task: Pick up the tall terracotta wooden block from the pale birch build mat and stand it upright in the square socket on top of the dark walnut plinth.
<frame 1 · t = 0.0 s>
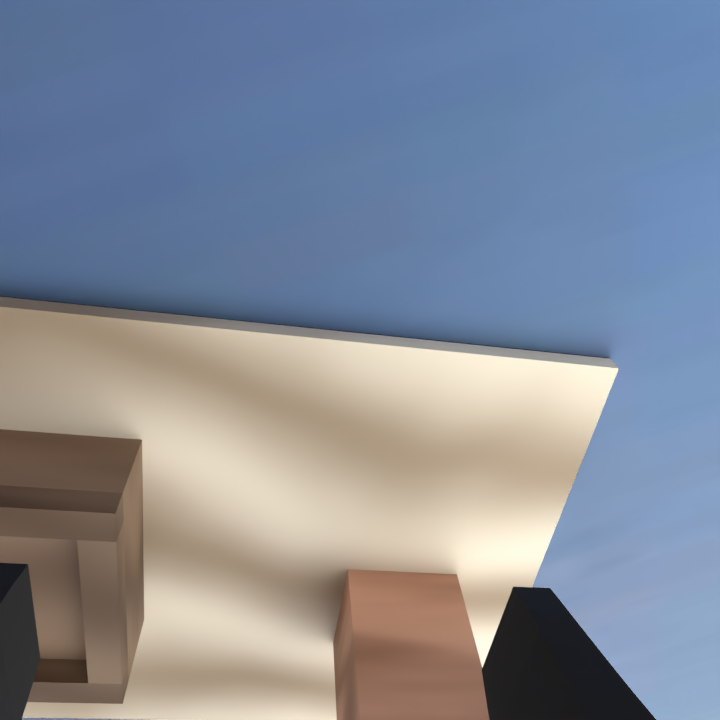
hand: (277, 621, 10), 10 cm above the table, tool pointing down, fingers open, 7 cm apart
block: (393, 609, 24), point 1 cm above the table, touching build mat
build mat: (191, 548, 22), on the table
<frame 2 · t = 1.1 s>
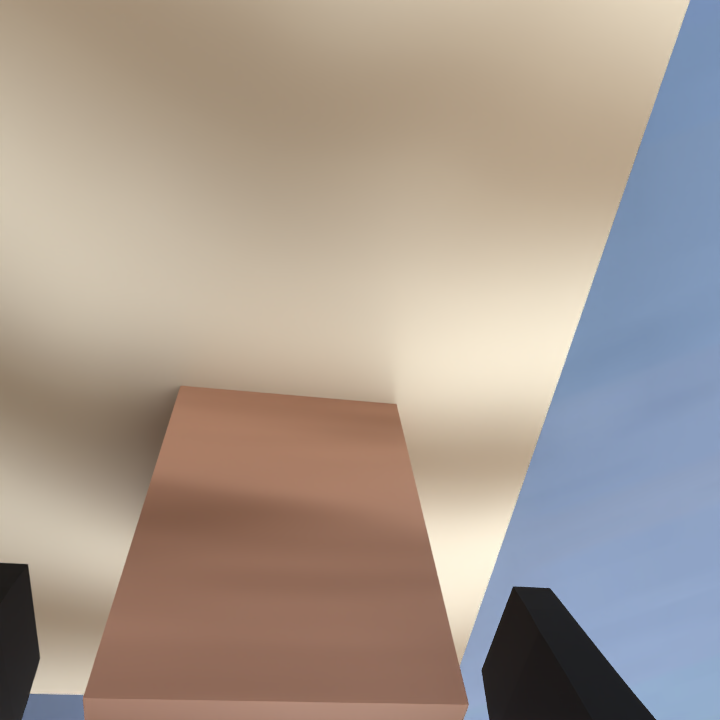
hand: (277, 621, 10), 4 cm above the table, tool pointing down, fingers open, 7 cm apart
block: (281, 479, 13), point 1 cm above the table, touching build mat
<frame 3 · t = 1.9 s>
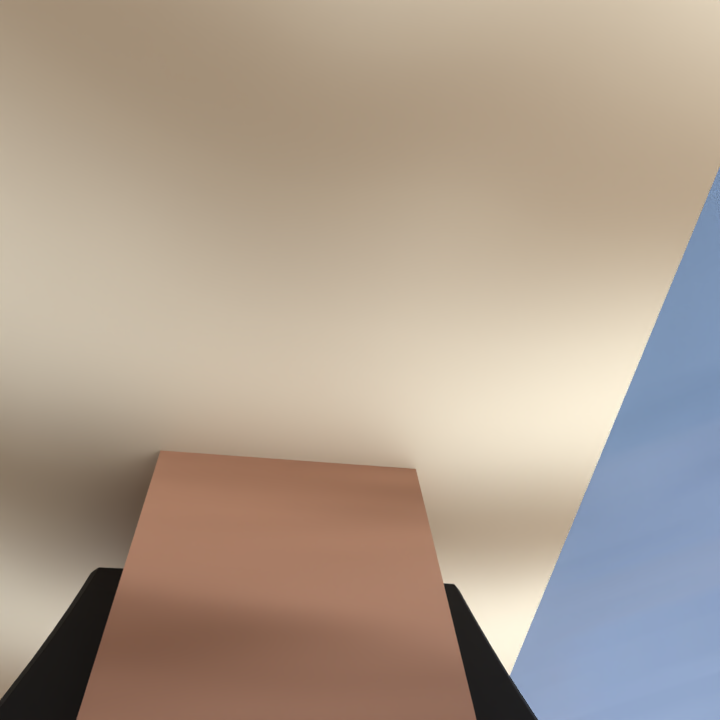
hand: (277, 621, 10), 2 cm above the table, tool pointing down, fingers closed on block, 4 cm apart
block: (279, 552, 11), point 1 cm above the table, touching build mat, gripper
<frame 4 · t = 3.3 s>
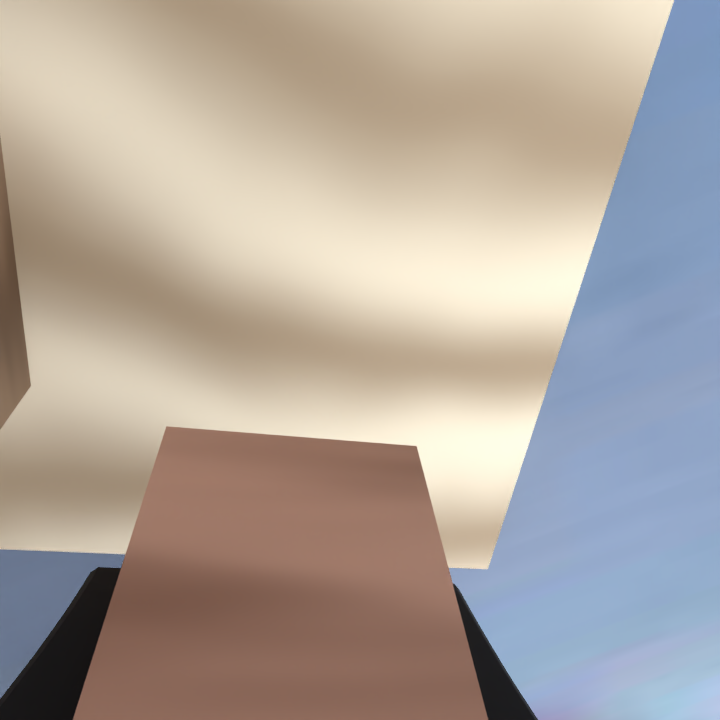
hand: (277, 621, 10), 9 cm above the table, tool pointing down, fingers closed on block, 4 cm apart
block: (282, 529, 11), point 7 cm above the table, touching gripper
build mat: (90, 277, 16), on the table
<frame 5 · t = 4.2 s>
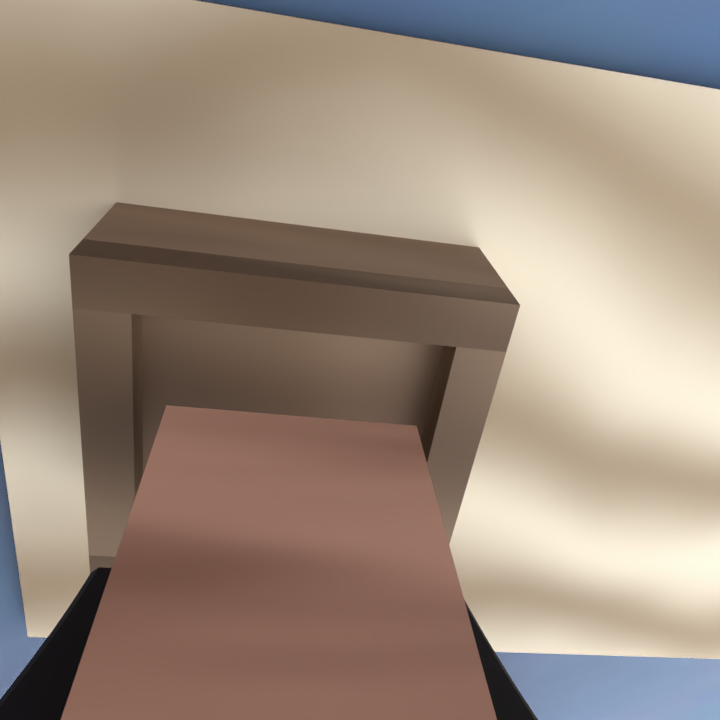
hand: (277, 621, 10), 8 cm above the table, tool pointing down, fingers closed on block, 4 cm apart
block: (283, 510, 11), point 6 cm above the table, touching gripper
build mat: (482, 417, 18), on the table
when the fingers open (6 cm above the table, at t = 4.9 s): block stays where it is, resting on build mat.
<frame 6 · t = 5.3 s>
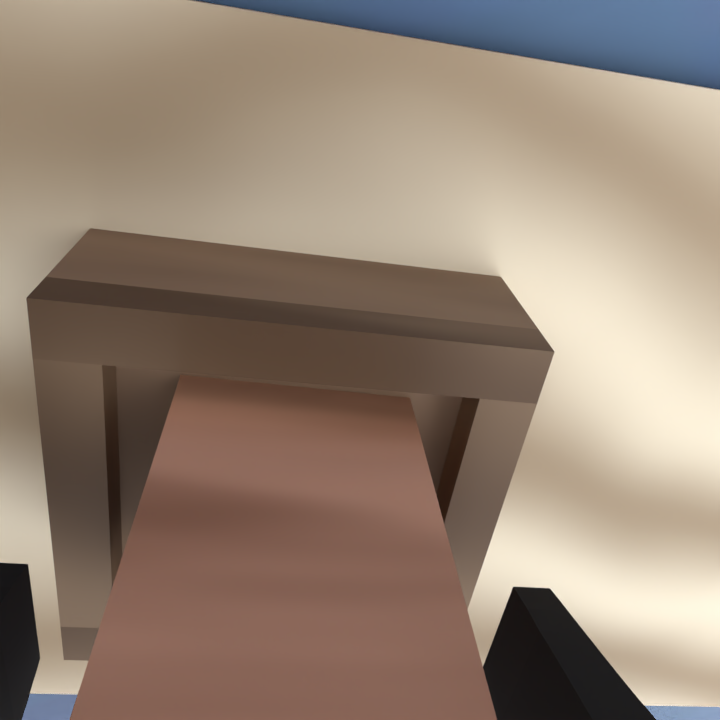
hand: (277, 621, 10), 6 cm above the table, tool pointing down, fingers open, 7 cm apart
block: (285, 476, 12), point 3 cm above the table, touching build mat
build mat: (500, 458, 16), on the table
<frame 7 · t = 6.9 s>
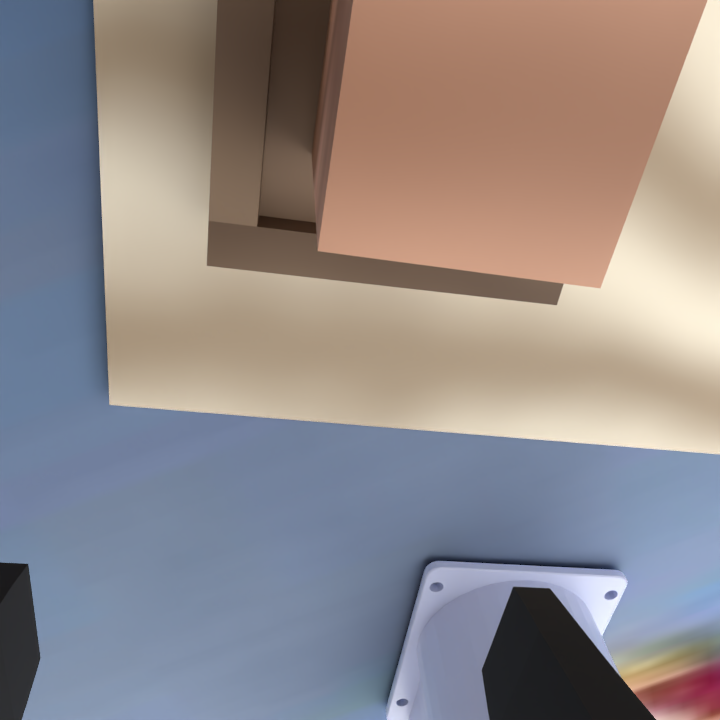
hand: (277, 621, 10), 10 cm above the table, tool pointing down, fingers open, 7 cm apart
block: (422, 69, 13), point 3 cm above the table, touching build mat
build mat: (594, 149, 17), on the table
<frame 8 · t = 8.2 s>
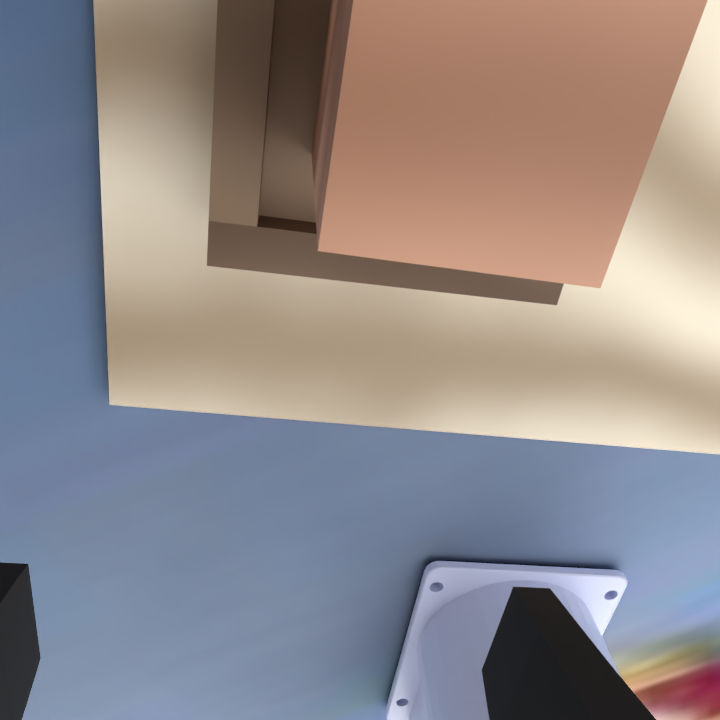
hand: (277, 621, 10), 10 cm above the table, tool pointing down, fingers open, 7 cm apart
block: (422, 69, 13), point 3 cm above the table, touching build mat
build mat: (594, 149, 17), on the table
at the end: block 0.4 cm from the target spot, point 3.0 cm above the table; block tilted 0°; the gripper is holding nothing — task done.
